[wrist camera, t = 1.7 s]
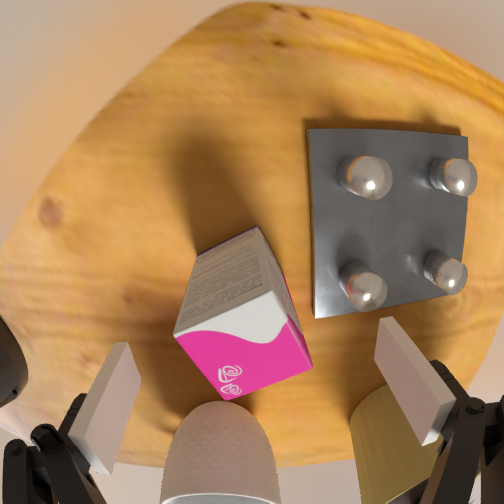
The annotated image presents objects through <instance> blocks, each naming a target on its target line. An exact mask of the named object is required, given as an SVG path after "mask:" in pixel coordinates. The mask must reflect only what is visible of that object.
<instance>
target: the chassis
mask: <svg viewBox="0 0 504 504" xmlns="http://www.w3.org/2000/svg"><path fill="white" fill-rule="evenodd" d="M306 140H307V154H308V169H309V187H310V208H311V236H312V313H313V315H314V318H315V319H316V318H323V317H330V316H337V315H343V314H350V313H356V312H370V311H373V310H375V309H380V308H385V307H391V306H396V305H401V304H407V303H412V302H417V301H422V300H426V299H431V298H436V297H440V296H445V295H454V294H457V293H458V292H459V291H460V290H461V289H462V288H463V287H464V285H465V283H466V281H467V277H468V271H467V268H466V266H465V265H464V264H462V263H461V260H462V253H463V245H464V237H465V227H466V215H467V200H468V196H469V195H471V194H472V193H473V192H474V190H475V188H476V185H477V171H476V169H475V167H474V165H473V164H472V163H471V162H470V161H468V137H465V136H457V135H449V134H439V133H429V132H417V131H402V130H383V129H307V130H306Z"/></svg>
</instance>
